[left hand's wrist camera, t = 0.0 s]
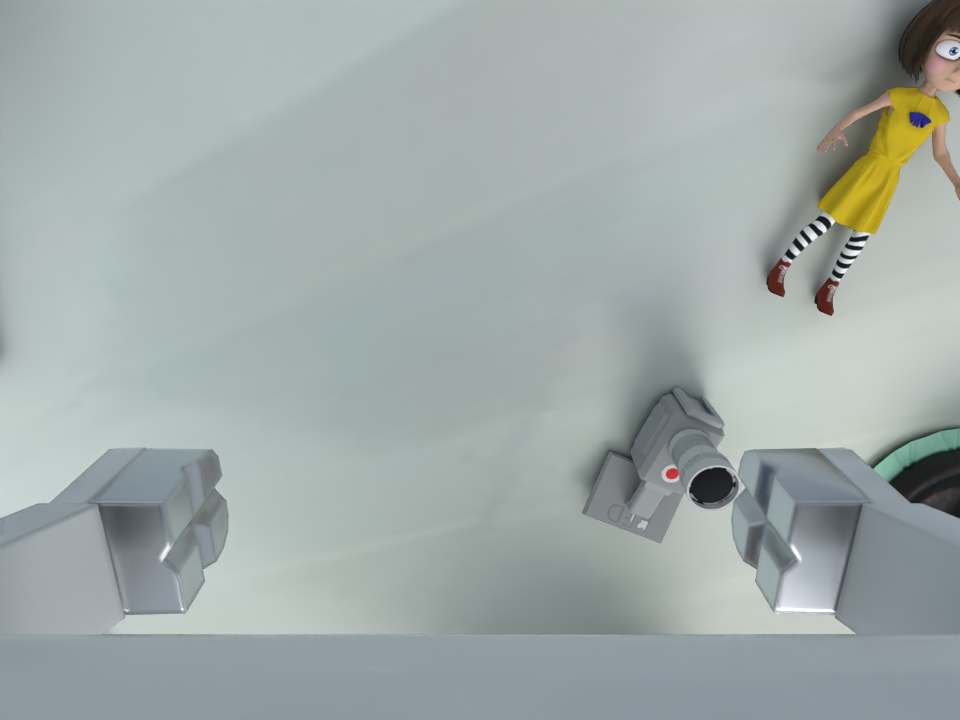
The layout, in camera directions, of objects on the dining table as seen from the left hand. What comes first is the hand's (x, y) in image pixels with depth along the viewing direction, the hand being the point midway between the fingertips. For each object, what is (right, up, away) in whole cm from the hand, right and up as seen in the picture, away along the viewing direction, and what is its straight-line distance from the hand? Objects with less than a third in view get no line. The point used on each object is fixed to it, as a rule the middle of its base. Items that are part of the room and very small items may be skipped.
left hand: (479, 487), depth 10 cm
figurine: (+32, +19, +44) cm, 58 cm away
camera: (+17, -7, +54) cm, 57 cm away
